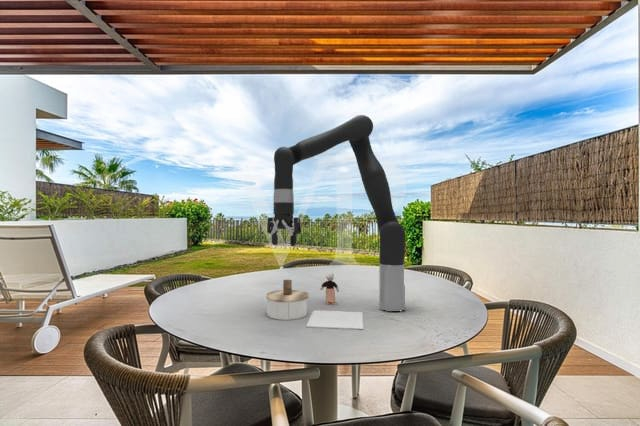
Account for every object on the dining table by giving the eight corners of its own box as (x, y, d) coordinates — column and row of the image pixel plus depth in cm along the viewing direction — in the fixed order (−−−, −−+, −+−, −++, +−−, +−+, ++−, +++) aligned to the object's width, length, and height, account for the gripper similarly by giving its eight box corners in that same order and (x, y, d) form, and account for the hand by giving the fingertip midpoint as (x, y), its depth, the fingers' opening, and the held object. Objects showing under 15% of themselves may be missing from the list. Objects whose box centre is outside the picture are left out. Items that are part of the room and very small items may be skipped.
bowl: (309, 309, 130) (309, 293, 130) (303, 320, 116) (303, 302, 116) (273, 307, 131) (273, 292, 131) (263, 318, 117) (263, 301, 117)
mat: (362, 313, 124) (362, 312, 124) (363, 329, 106) (363, 328, 106) (313, 311, 126) (313, 310, 126) (306, 327, 108) (306, 326, 108)
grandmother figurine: (339, 302, 139) (339, 271, 139) (339, 305, 135) (339, 273, 136) (320, 302, 140) (320, 271, 140) (319, 304, 136) (319, 272, 136)
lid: (310, 292, 130) (310, 277, 130) (304, 303, 115) (304, 285, 115) (272, 291, 132) (272, 276, 132) (261, 301, 117) (261, 284, 117)
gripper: (305, 201, 127) (305, 245, 126) (275, 202, 134) (275, 243, 134) (292, 200, 120) (292, 247, 120) (262, 202, 128) (262, 245, 128)
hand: (283, 245), depth 127 cm, fingers open, 8 cm apart
